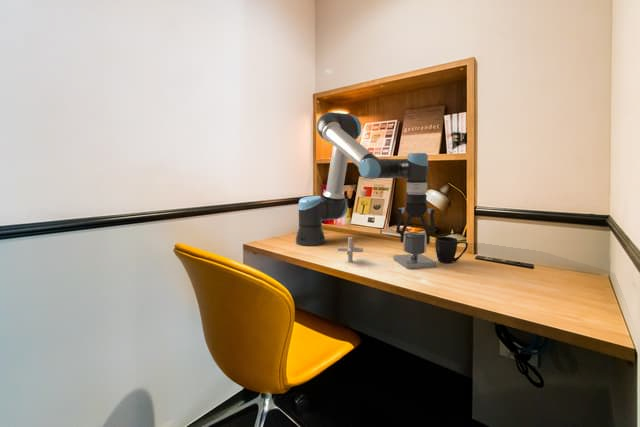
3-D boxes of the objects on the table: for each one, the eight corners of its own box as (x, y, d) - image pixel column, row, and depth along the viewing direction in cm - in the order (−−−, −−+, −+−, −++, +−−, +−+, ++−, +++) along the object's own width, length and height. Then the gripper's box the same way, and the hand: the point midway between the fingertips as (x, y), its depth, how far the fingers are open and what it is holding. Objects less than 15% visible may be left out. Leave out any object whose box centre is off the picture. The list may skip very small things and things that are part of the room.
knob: (404, 253, 123) (405, 235, 122) (405, 248, 130) (405, 231, 129) (424, 254, 121) (425, 236, 120) (423, 249, 128) (424, 232, 127)
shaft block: (393, 259, 131) (393, 242, 130) (419, 258, 134) (420, 240, 133) (407, 269, 120) (407, 249, 119) (435, 266, 122) (436, 247, 121)
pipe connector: (361, 266, 124) (362, 241, 122) (336, 264, 126) (336, 240, 124) (363, 258, 133) (363, 235, 132) (339, 257, 135) (340, 234, 134)
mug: (465, 267, 121) (467, 243, 120) (432, 262, 127) (434, 239, 126) (467, 261, 128) (468, 238, 127) (436, 257, 134) (437, 235, 133)
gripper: (389, 193, 122) (388, 251, 125) (445, 194, 116) (442, 255, 119) (390, 192, 129) (389, 247, 132) (443, 193, 123) (440, 250, 127)
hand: (414, 250), depth 126 cm, fingers closed on knob, 7 cm apart
